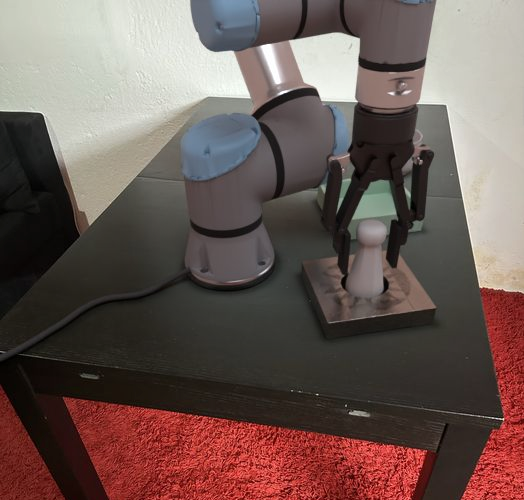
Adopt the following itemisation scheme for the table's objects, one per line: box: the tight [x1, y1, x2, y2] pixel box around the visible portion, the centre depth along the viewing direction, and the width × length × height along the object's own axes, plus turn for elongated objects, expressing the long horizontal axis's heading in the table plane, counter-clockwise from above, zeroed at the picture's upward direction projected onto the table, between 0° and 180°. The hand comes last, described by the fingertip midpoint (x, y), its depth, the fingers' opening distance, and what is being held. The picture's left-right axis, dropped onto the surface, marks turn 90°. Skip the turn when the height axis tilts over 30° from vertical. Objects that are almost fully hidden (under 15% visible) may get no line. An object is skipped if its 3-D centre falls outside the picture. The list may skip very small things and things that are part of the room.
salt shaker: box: [344, 219, 388, 298], centre depth 77 cm, size 6×6×13 cm
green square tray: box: [316, 178, 424, 241], centre depth 100 cm, size 16×16×4 cm
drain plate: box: [300, 249, 437, 340], centre depth 81 cm, size 16×16×3 cm
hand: (366, 266), depth 78 cm, fingers open, 7 cm apart
